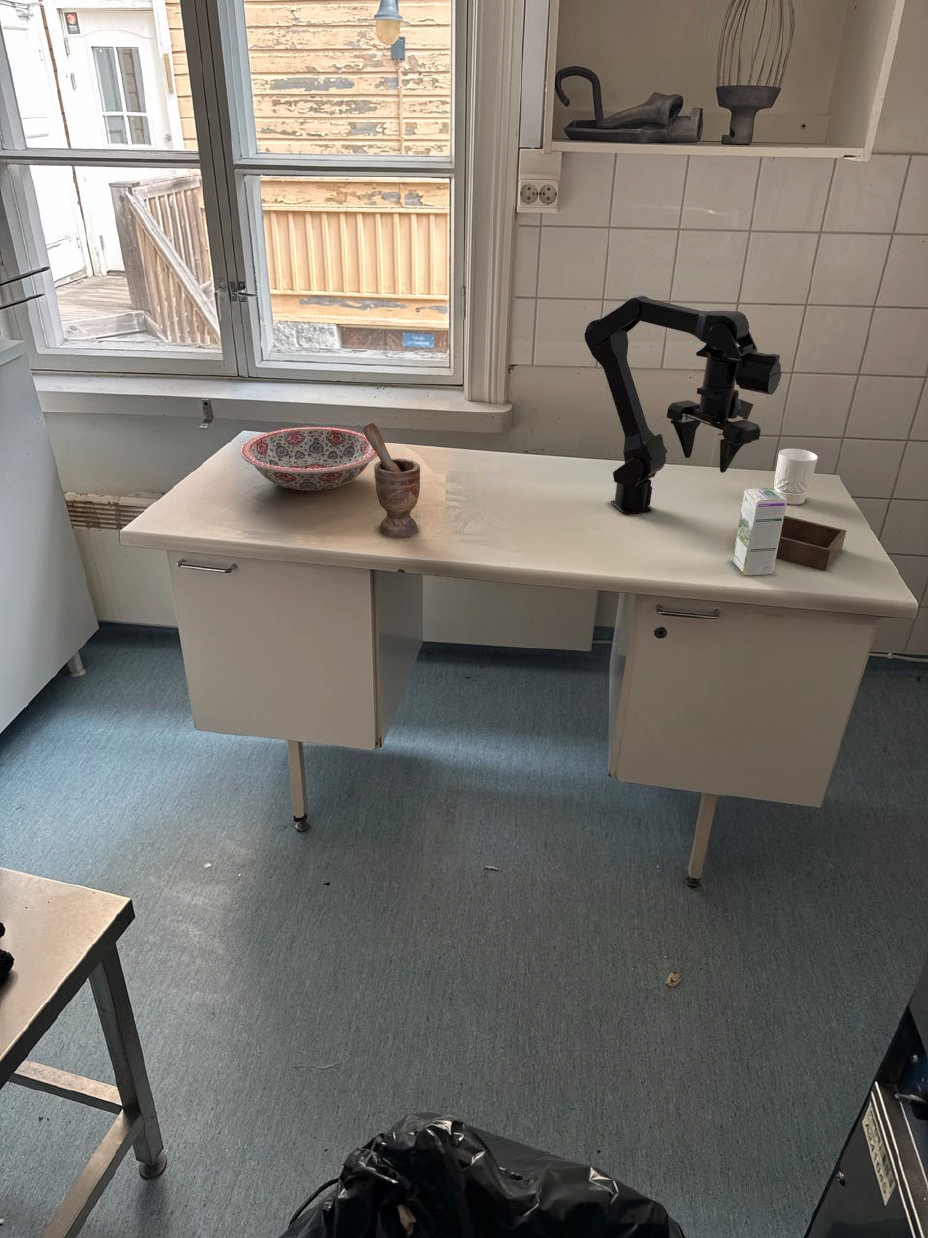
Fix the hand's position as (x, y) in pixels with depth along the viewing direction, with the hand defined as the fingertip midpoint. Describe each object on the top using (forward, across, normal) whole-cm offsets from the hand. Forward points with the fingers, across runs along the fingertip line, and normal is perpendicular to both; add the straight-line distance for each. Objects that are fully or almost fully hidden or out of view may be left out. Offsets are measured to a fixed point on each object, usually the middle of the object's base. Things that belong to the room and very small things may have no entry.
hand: (704, 464), depth 174 cm
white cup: (+13, +1, -29) cm, 32 cm away
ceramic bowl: (+14, +58, +56) cm, 82 cm away
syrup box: (+13, -19, +5) cm, 24 cm away
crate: (+13, -17, -9) cm, 23 cm away
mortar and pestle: (+13, +28, +53) cm, 62 cm away
